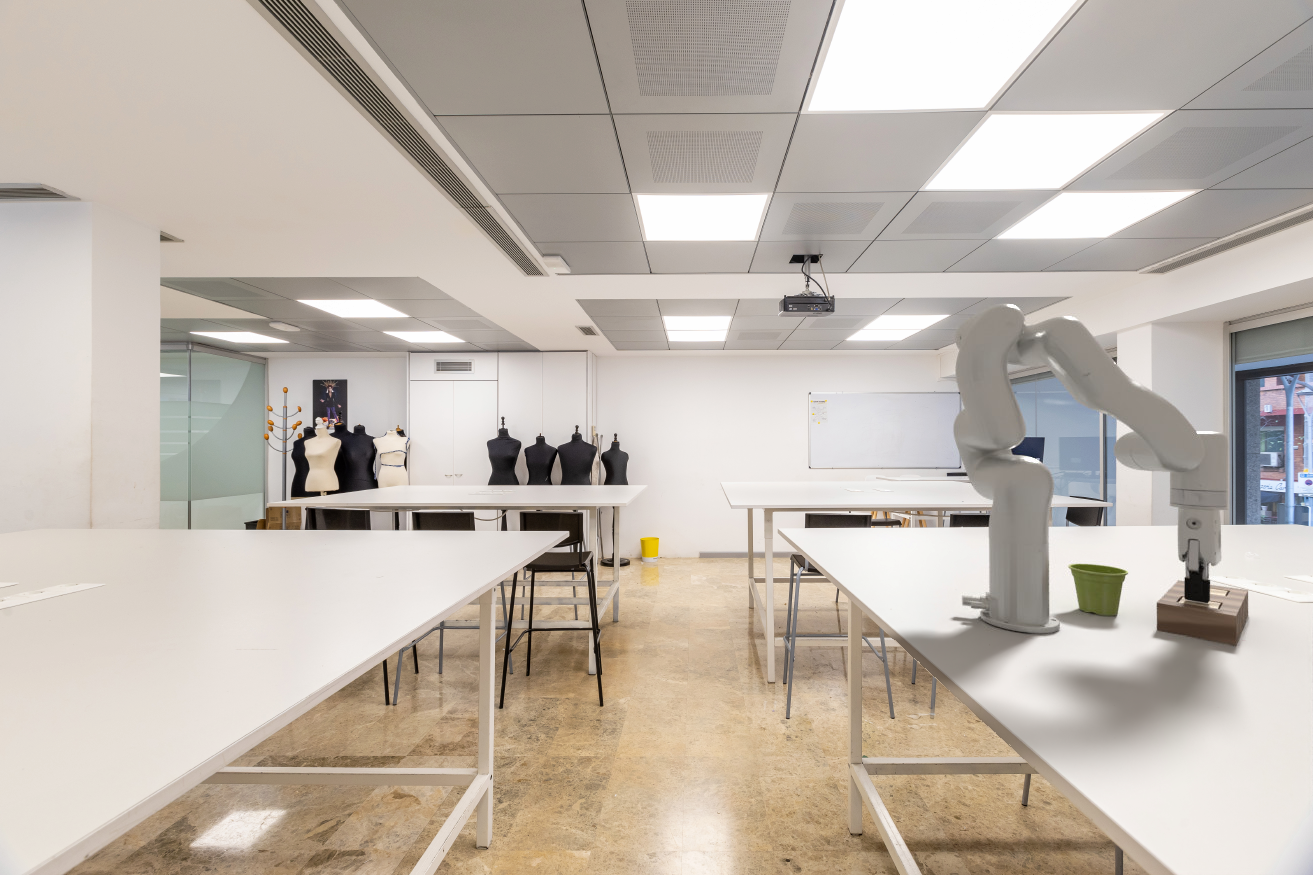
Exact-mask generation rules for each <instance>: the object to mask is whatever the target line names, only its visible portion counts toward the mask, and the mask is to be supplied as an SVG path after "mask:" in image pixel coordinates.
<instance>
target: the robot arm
mask: <svg viewBox="0 0 1313 875" xmlns="http://www.w3.org/2000/svg"><path fill="white" fill-rule="evenodd" d="M954 340H955V341H954V342H955V345H956V348H958V350H959V351H958V353H957V357H956V361H955V379H956V385H957V388H958V391H959V394H960V399H961V402H962V405H963V409H961V410H960V412H959V413H958V414H957V415H956V418H955V420H954V422H953V429H952V430H953V438H954V441H955V444H956V447H957V450H958V453H959V455H960V458H961V461H962V464H963V467H964V470H965V472H966V476H967V478H968V480H969V482H970V484H971V486H972V487H973V489H974V490H975V491H976V493H978V494H979V495H980V496H982V497H983V498H986V499H987V500H990V501H992V505H991V509H990V514H989V520H988V564H989V565H988V571H989V572H988V573H989V574H988V576H989V577H988V578H989V584H988V585H989V587H988V588H989V591H986V592H985V595H980V596H978V597H977V596H972V595H962V596H961V604H962V605H961V606H965V607H970V609H974V610H975V609H976V610H980V611H979V613H980V614H979V616H980V619H981V620H983V622H985V623H987V624H990V625H992V626H993V627H994V626H995V627H999V628H1001V629H1005V630H1008V631H1009V630H1010V631H1013V632H1014V631H1016V632H1020V633H1029V634H1050V633H1055V632H1058V631H1059V630H1060V627H1061V623H1060V621H1059V619H1057V618H1056V617H1054V616H1052V615H1050V543H1049V542H1050V541H1049V538H1050V537H1049V536H1050V535H1049V532H1050V531H1049V530H1050V528H1049V527H1050V526H1049V524H1050V512H1051V508H1052V503H1053V502H1052V501H1053V498H1054V493H1055V486H1054V485H1055V482H1054V478H1053V475H1052V472H1051V471H1050V469H1049V468H1048V467H1047V466H1046V464H1044V463H1043V462H1041V461H1040V460H1038V459H1036V458H1034V457H1031V456H1027V455H1021V454H1020V455H1017V454H1013V452H1012V449H1014V448H1016V447H1017V446H1019V445H1020V444H1022V442H1023V441H1024V440H1025V438H1026V434H1027V425H1026V421H1025V418H1024V415H1023V413H1022V411H1021V408H1020V405H1019V403H1018V399H1017V397H1016V395H1015V392H1014V389H1013V386H1012V384H1011V380H1010V377H1009V371H1008V370H1009V369H1008V365H1011V366H1012V365H1013V366H1019V367H1021V366H1022V367H1029V368H1030V367H1031V368H1033V367H1034V368H1035V367H1044V366H1047V367H1048V368H1049V370H1050V372H1052V373H1053V375H1054V377H1056V378H1057V379H1058V381H1059V382H1060V383H1061V384H1062V386H1063V387H1064V388H1065V390H1066V391H1067V392H1068V393H1069V394H1070V395H1071V397H1072V398H1073V399H1074V400H1075V401H1076V402H1077V403H1078V404H1080V405H1081V406H1084V407H1086V408H1088V409H1090V410H1092V411H1096V412H1097V413H1101V414H1104V415H1107V416H1108V417H1111V418H1113V419H1115V420H1117V421H1119V422H1120V423H1123V425H1126V426H1127V427H1128V428H1129V429H1131V431H1130V432H1127V433H1125V434H1123V435H1122V436H1120V437H1119V438H1118V439H1117V440H1116V442H1115V443H1114V446H1113V455H1114V456H1115V458H1116V460H1117V461H1118V463H1120V465H1123V466H1125V467H1127V468H1129V469H1133V470H1136V471H1144V472H1145V471H1147V472H1160V473H1161V472H1162V473H1169V506H1170V507H1175V508H1177V551H1178V552H1177V556H1178V560H1179V561H1180V562H1182V563H1185V569H1184V570H1185V577H1184V579H1183V581H1184V598H1185V599H1186V600H1190V601H1196V602H1202V603H1208V602H1209V601H1210V585H1211V579H1210V566H1211V567H1216V566H1217V565H1218V564H1220V562H1221V561H1222V524H1221V521H1222V520H1221V511H1227V510H1228V508H1229V507H1228V505H1229V503H1228V502H1229V501H1228V500H1229V499H1228V497H1229V496H1228V495H1229V493H1228V492H1229V490H1228V487H1229V486H1228V485H1229V483H1228V482H1229V478H1228V477H1229V439H1228V436H1227V435H1225V434H1224V433H1223V432H1219V431H1197V430H1196V428H1194V426H1193V425H1192V424H1191V423H1190V421H1189V420H1188V419H1187V418H1186V416H1185V414H1183V413H1182V412H1181V411H1180V410H1179V409H1178V408H1177V407H1176V406H1175V405H1174V404H1172V403H1171V402H1170V401H1169V400H1167V399H1165V398H1164V397H1162V396H1161V395H1159V394H1158V393H1156V392H1155V391H1153V390H1151V389H1150V388H1148V387H1146V386H1145V385H1143V384H1142V383H1140V382H1138V381H1136V380H1135V379H1132V378H1131V377H1130V376H1129V375H1127V374H1126V373H1125V372H1124V371H1123V370H1122V368H1120V367H1119V365H1118V364H1117V363H1116V361H1115V360H1114V359H1113V358H1112V357H1111V356H1110V354H1109V353H1108V352H1107V351H1106V350H1105V349H1104V347H1103V346H1102V345H1101V343H1099V341H1098V340H1097V339H1096V337H1094V335H1093V334H1092V333H1091V332H1090V330H1089V329H1088V328H1087V327H1086V326H1085V324H1084V323H1083V322H1081V321H1080V320H1079V319H1077V318H1075V317H1074V316H1073V317H1072V316H1070V315H1069V316H1067V315H1063V316H1056V317H1051V318H1049V319H1045V320H1043V321H1041V322H1040V321H1039V322H1038V323H1035V324H1028V323H1027V324H1026V318H1025V315H1024V313H1023V311H1022V310H1021V309H1020V308H1019V307H1018V306H1016V305H1014V304H1010V303H998V304H994V305H992V306H990V307H987V308H985V309H983V310H982V311H980V312H978V313H975V314H974V315H973V316H970V317H969V318H967V319H965V320H964V321H963V322H961V324H960V325H959V326H958V328H957V329H956V332H955V336H954Z"/></svg>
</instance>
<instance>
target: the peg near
mask: <svg viewBox="0 0 1313 875" xmlns="http://www.w3.org/2000/svg"><path fill="white" fill-rule="evenodd" d="M1179 602H1180V603H1186V604H1192V605H1199V606H1205V607H1211V608H1217V609H1220V608H1221V603H1217V602H1210V601H1209V602H1208V603H1202V602H1196V601H1190V600H1186V599H1185V598H1184V597H1183V598H1182V599H1181V600H1180V601H1179Z"/></svg>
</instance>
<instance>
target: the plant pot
mask: <svg viewBox="0 0 1313 875" xmlns="http://www.w3.org/2000/svg"><path fill="white" fill-rule="evenodd" d="M1068 569H1070V572H1071V575H1072V578H1073V580H1074V587H1075V591H1076V598H1077V603H1078V609H1079V610H1080V611H1083V612H1085V613H1094V614H1096V615H1099V616H1110V617H1111V616H1115V615H1118V613H1119V608H1120V604H1121V603H1120V601H1121V594H1122V589H1123V583H1124V581H1125V580H1126V576H1127V575H1129V571H1128V570H1126V569H1123V568H1120V567H1115V566H1110V565H1103V564H1102V565H1101V564H1092V563H1072V564H1068Z"/></svg>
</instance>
